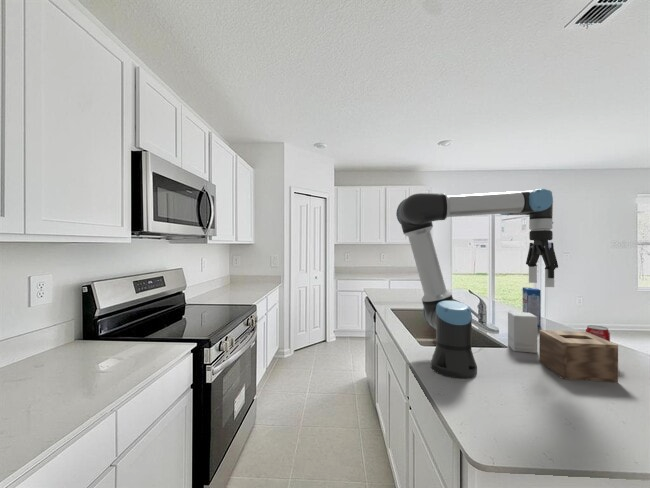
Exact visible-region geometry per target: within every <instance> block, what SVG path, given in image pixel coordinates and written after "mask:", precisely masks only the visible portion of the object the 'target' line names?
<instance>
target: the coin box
mask: <svg viewBox="0 0 650 488" xmlns="http://www.w3.org/2000/svg"><path fill="white" fill-rule="evenodd" d="M538 332H539V339H538V341H539V359H538V360H539V363H541V364H542V365H544V366H545V367H546V368H547V369H549V370H550V371H552V372H553V373H554V374H556V375H557V376H558V377H560V378H561V379H563V380H577V381H589V382H590V381H591V382H605V383H606V382H607V383H619V345H618V344H616V343H613V342H611V341H610V342H609V341H607V340H605V339H602V338H600V337H598V336H595V335H593V334H591V333H588V332H586V331H575V330H574V331H573V330H572V331H570V330H551V329H549V330H548V329H539V331H538Z"/></svg>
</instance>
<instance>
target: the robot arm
mask: <svg viewBox="0 0 650 488" xmlns="http://www.w3.org/2000/svg"><path fill="white" fill-rule="evenodd" d="M553 206H554V196H553V192H552V191H551V190H550V189H546V188H535V189H533V190H520V191H506V192H505V191H504V192H502V191H501V192H488V193H487V192H485V193H472V194H457V195H456V194H454V195H447V194H446V193H444V192H442V193H441V192H439V193H426V192H425V193H415V194H411V195H409V196H408V197H406V198H405V199H403V200H402V201H401V202H400V203H399V204H398V206H397V208H396V219H397V221H398V222H399V224H400V225H401V229H402V232H403V233H402V234H403V235H405V236H406V237H408V240H409V244H410V246H411V247H410V248H411V251H412V254H413V259H414V262H415V265H416V269H417V270H416V271H417V273H418V277H419V279H420V284H421V288H422V290H423V291H422V292H423V296H422V298H421V303H422V306H423V307H422V314H423V317H424V319H425V321H426V322H427V324H428V325H429V326H431V327H432V328H434V330H435V336H436V337H435V341H436V342H435V343H436V344H435V345H436V346H435V349H434V352H433V354H432V358H431V360H430V365H431V366H430V368H431V369H432V371H434V372H435V373H437V374H439V375H442V376H444V377H449V378H453V379H454V378H455V379H469V378H473V377H476V376H477V374H478V365H477V362H476V360H475V357H474V353H473V350H472V335H473V334H472V332H473V331H472V329H473V328H472V327H473V326H472V324H473V323H472V322H473V321H472V320H473V314H472V309H471V307H470V306H469V305H468V304H466V303H464V302H460V301H457V300H454V298H453V295H452V292H450V291H449V290H447V288H446V285H445V280H444V277H443V273H442V270H441V265H440V261H439V259H438V255H437V251H436V247H435V244H434V240H433V236H432V232H431V230H432V229H433V227H434V225H433V222H437V221H445V220H447V218H452V217H453V218H454V217H455V218H456V217H467V216H468V217H469V216H487V215H489V216H490V215H501V216H529V220H528V221H529V222H528V223H529V224H528V225H529V226H528V227H529V230H530V231H529V233H528V234H529V236H528V237H529V241H533V242H529V246H528V247H529V249H528V252H527V256H526V261H525V264H526V265H527V266H528V283H531V284H533V283H534V284H537V283H538V274H537V273H538V264H537V263H538V262H539V258H540V256H541V257H542V261H543V262H544V266H545V268H544V279H545V280H544V287H545V288H555V270H556V269H558V268H559V264H558V261H557V255H556V253H555V249H554V242H549V241H552V240H553V239H554V238H553V234H554V233H553V230H552V229H553V225H554V221H553V215H554V214H553V212H554V211H553Z"/></svg>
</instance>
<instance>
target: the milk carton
mask: <svg viewBox="0 0 650 488" xmlns="http://www.w3.org/2000/svg"><path fill="white" fill-rule="evenodd" d="M541 291H542V290H541V289H539V288H537V287H527V286H526V287H522V312H527V313H531V314H533V315H535V316H536V317H537V328H542V327H541V325H542V323H541V322H542V321H541V318H542V315H541V312H542V311H541V308H542V307H541V304H542V301H541V300H542V299H541V295H542V292H541Z"/></svg>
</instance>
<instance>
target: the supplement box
mask: <svg viewBox="0 0 650 488" xmlns="http://www.w3.org/2000/svg"><path fill="white" fill-rule="evenodd" d="M507 346H508V347H509V348H510V349H511V350H512V352H513V351H514V352H521V353H522V352H523V353H535V354H538V327H537V317H536V316H535V315H533V314H531V313H527V312H523V311H522V312H520V311H508V312H507Z"/></svg>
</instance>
